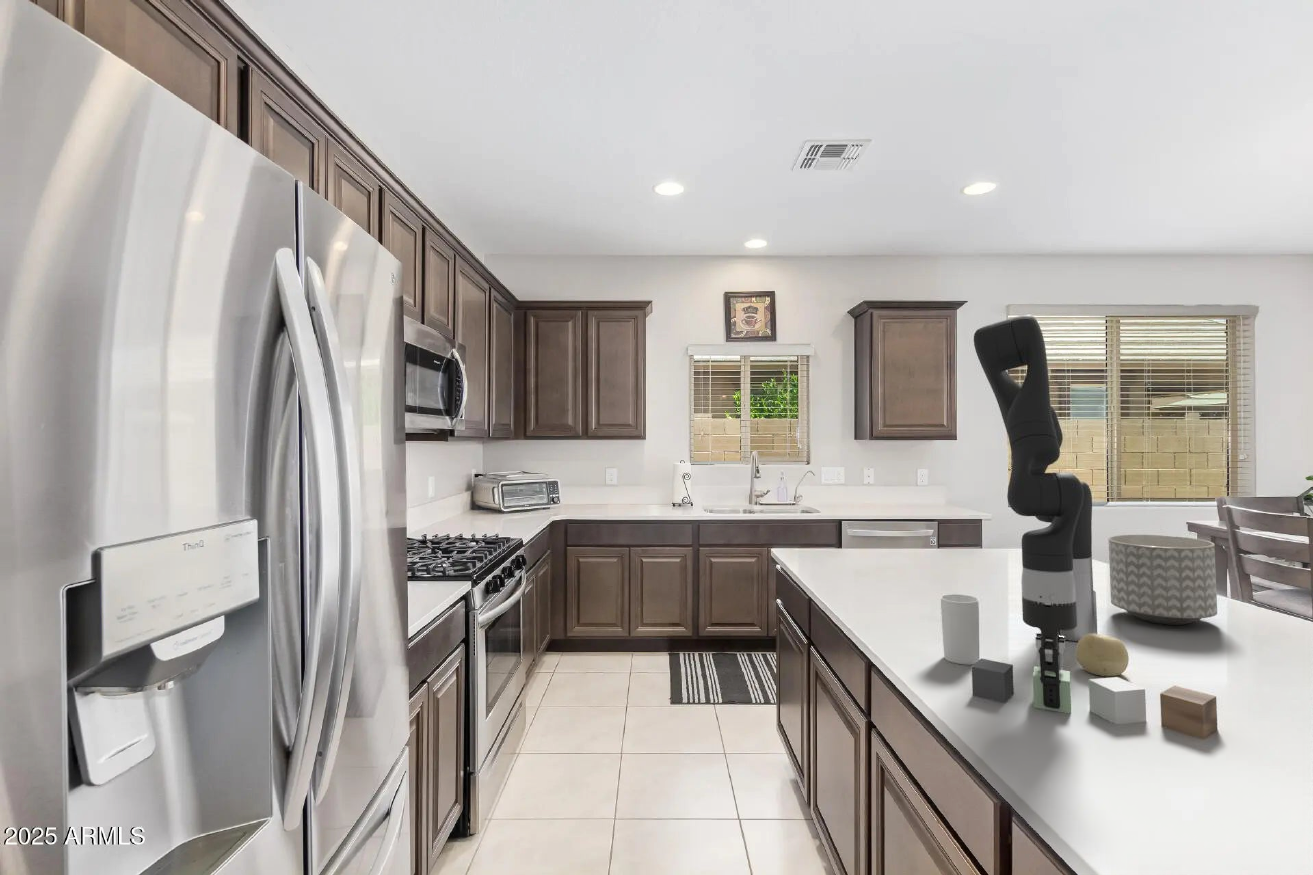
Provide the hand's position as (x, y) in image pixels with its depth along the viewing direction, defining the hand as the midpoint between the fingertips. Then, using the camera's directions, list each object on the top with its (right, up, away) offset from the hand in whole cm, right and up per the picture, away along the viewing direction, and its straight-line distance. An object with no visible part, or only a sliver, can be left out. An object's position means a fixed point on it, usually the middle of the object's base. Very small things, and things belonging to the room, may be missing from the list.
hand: (1052, 700), depth 103 cm
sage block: (0, -1, 0) cm, 1 cm away
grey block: (+7, 0, -5) cm, 9 cm away
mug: (-3, -1, +23) cm, 23 cm away
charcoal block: (-7, -1, +5) cm, 9 cm away
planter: (+52, +1, +42) cm, 67 cm away
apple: (+17, 0, +13) cm, 21 cm away
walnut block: (+14, 0, -9) cm, 17 cm away
